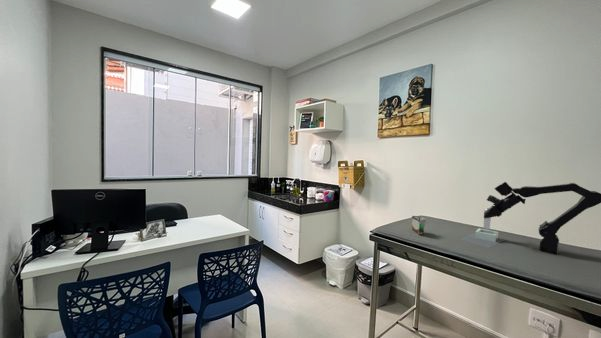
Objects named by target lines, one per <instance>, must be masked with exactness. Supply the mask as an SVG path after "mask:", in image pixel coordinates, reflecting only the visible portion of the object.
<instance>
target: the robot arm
mask: <svg viewBox="0 0 601 338" xmlns="http://www.w3.org/2000/svg"><path fill="white" fill-rule="evenodd" d="M494 190H495V191H496V192H497V193H499V195H501V197H504V198H501V199H500V198H498V197H496V196H494V195H491V194H490V195H488V197H487V198H486V201H487V202H490V203H493V204H492V205H491V206H490V207H488V208H489V209H490V211H489V212H488V213H487V214H486V215H485V216H484V215H483V219H484V218H490V217H491V218H495V217H497V218H498V217H499V218H500V217H501V216H502V215H503V213H505V212H506V211H508V210H509V209H511V208H512V207H514V206H516V205H517V204H519V203H520V202H521V203H522V204H523V205H525V203H526V200H527V199H526V198H531V197H534V196H538V195H544V194H555V193H565V192H573V193H576V194H578V195H579V196H581V197H580V198H579V200H578V201H577V202H576V203H575V204H574V205H573V206H571V207H570V208H568V209H566V211H564V212H563V213H561V214H560V215H559V216H558V217H556V218H555V219H554V220H551V221H549V222H548V221H547V220H545V221H543V223H541V224H539V227H538V234H539V235H540V237H542V239H541V240H540V241H539V251H541V252H545V253H549V254H552V255H558V254H559V253H560V251H559V250H560V238H559V237H558V235H557V233H558V232H559V230H560V229H561V227H564V225H566V224H567V223H570V221H572V220H573V219H574V218H576V217H577V216H579V215H580V214H582V213H583V212H584V211H586V210H587V209H590V208H593V207H595V206H597V205H600V204H601V192H598V191H596V190H589V189H587V188H584V187H583V186H581V185H579V184H577V183H574V182H570V183H565V184H563V183H562V184H555V185H545V186H544V185H543V186H530V185H529V186H528V185H527V186H520V188H519V187H518V188H513V187H512V186H511V185H509V184H508V182H507V181H504V182H503V183H501V184H499V185H497V186H496V187H494Z"/></svg>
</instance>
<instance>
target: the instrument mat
mask: <svg viewBox="0 0 601 338" xmlns="http://www.w3.org/2000/svg"><path fill="white" fill-rule="evenodd" d="M457 240H458V241H462V242H466V243H469V244H472V245H477V246H480V247H483V248H487V249H490V248H492V247H493V246H495V245H497V244H500V243H502V242H504V241H506V238H503V237H498V239H497V240H496V242H492V241H488V240H483V239H478V238H475V232H473V233H471V234H470V233H469V234H468V235H465V236H462V237H460V238H458V239H457Z"/></svg>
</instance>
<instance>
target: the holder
mask: <svg viewBox="0 0 601 338" xmlns="http://www.w3.org/2000/svg"><path fill="white" fill-rule="evenodd" d="M474 233H475V238H478V239H483V240H488V241H492V242H496V240H497V239H498V238H499V231H495V230H490V229H486V228H477V229H476V230H475V232H474Z"/></svg>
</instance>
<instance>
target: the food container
mask: <svg viewBox="0 0 601 338" xmlns="http://www.w3.org/2000/svg"><path fill="white" fill-rule="evenodd" d="M426 220H427V219H426V218H425V217H422V216H419V215H411V231H412V232H413V233H415V234H416V235H417V236H423V235H424V233H425V232H424V231H425V225H426V223H427V221H426Z"/></svg>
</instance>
